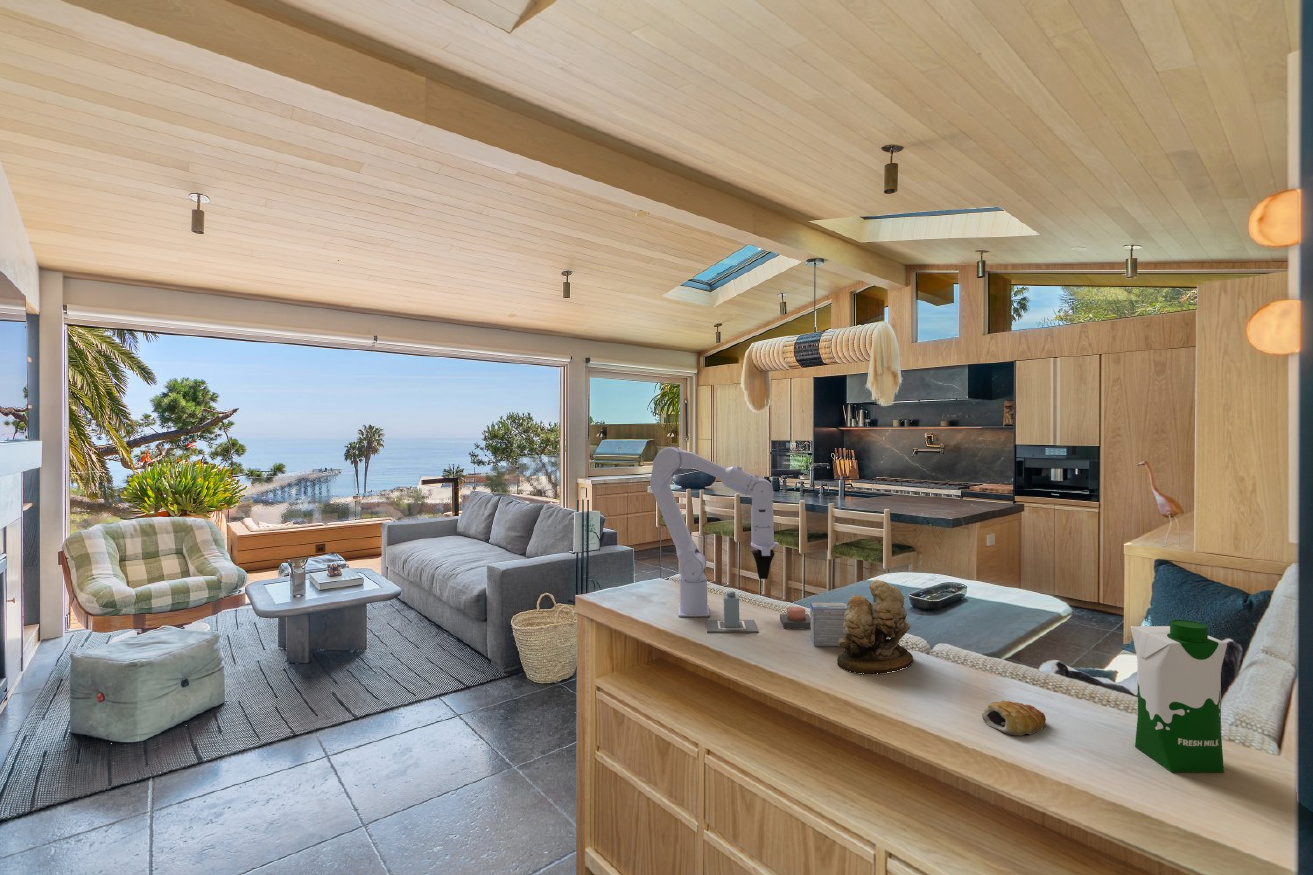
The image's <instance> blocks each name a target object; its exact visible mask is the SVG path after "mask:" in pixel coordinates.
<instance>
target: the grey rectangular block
mask: <svg viewBox="0 0 1313 875" xmlns="http://www.w3.org/2000/svg"><path fill="white" fill-rule="evenodd" d="M723 620H724V625H725V627H739V620H740V597H739V594H736V592H735V591H731V590H729V591H727V592H726V594H723Z"/></svg>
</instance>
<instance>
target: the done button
mask: <svg viewBox="0 0 1313 875" xmlns="http://www.w3.org/2000/svg"><path fill="white" fill-rule="evenodd" d="M786 614H787V619H789V620H793V621H802V620H805V619H806V618H805V614H806V608H804V607H801V606H789V607H787V608H786Z"/></svg>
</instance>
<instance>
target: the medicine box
mask: <svg viewBox="0 0 1313 875" xmlns="http://www.w3.org/2000/svg"><path fill="white" fill-rule="evenodd" d="M846 608H847V604H846V603H845V602H810V605H809V609H810V612H809V613H810V614H809V616H810V620H811V629H810V641H811V643H812V645H813V647H840V646H839V645H838V641H839V638H844V637H846V635H845V634H844V633H843V623H844V614H845V612H846V611H847V610H846Z"/></svg>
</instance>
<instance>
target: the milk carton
mask: <svg viewBox="0 0 1313 875" xmlns="http://www.w3.org/2000/svg"><path fill="white" fill-rule="evenodd" d="M1208 629H1209V627H1208V625H1207V624H1204V623H1202V622H1198V621H1193V620H1186V619H1173V620H1170V622H1169V625H1160V626H1159V625H1158V626H1157V625H1154V626H1152V625H1147V626H1146V625H1144V626H1141V625H1140V626H1138V625H1136V626H1135V625H1132V626H1131V625H1130V630H1131V636H1132V640H1133V644H1134V649H1135V654H1136V659H1137V660H1136V663H1137V664H1136V666H1137V667H1136V668H1137V670H1136V674H1137V676H1136V677H1137V722H1136V730H1135V731H1136V732H1135V743H1134V747H1135V748H1136V749H1137V750H1139V751H1140V752H1142V753H1143V754H1145V755H1146V756H1147V757H1149V758H1151V759H1152V760H1153V761H1155V762H1156V763H1157V764H1159V765H1160V766H1162V767H1164V768H1165V769H1166V770H1168V771H1169V772H1171V773H1195V774H1196V773H1203V774H1204V773H1207V774H1208V773H1212V774H1213V773H1219V774H1220V773H1225V770H1224V769H1225V768H1224V767H1225V765H1224V754H1223V741H1222V740H1223V739H1222V693H1221V690H1222V688H1221V687H1222V686H1221V684H1222V683H1221V682H1222V679H1221V676H1222V675H1221V674H1222V666H1223V663H1224V659H1225V655H1226V652H1227V648H1228V643H1227V642H1226V641H1223V640H1220V639H1218V638H1215V637H1213V636H1210V635H1209V634H1208V632H1209V630H1208Z"/></svg>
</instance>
